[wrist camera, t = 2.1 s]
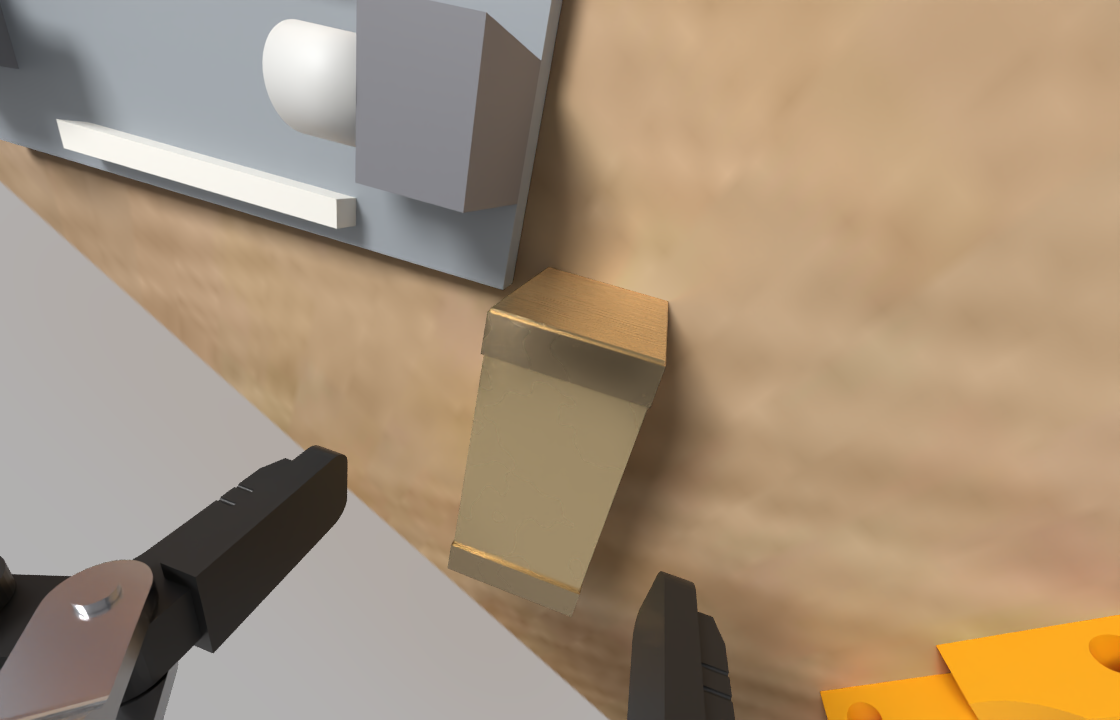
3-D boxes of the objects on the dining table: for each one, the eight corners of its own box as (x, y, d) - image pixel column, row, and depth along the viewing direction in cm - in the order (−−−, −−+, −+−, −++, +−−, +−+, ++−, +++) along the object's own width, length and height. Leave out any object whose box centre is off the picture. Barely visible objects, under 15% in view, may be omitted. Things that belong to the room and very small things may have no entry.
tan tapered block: (547, 266, 16) (487, 308, 11) (669, 301, 15) (667, 362, 10) (503, 471, 20) (447, 570, 15) (597, 505, 19) (570, 618, 14)
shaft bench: (572, -57, 12) (509, -204, 7) (512, 283, 16) (449, 324, 12) (-77, -177, 15) (-404, -332, 10) (20, 137, 19) (-180, 125, 15)
